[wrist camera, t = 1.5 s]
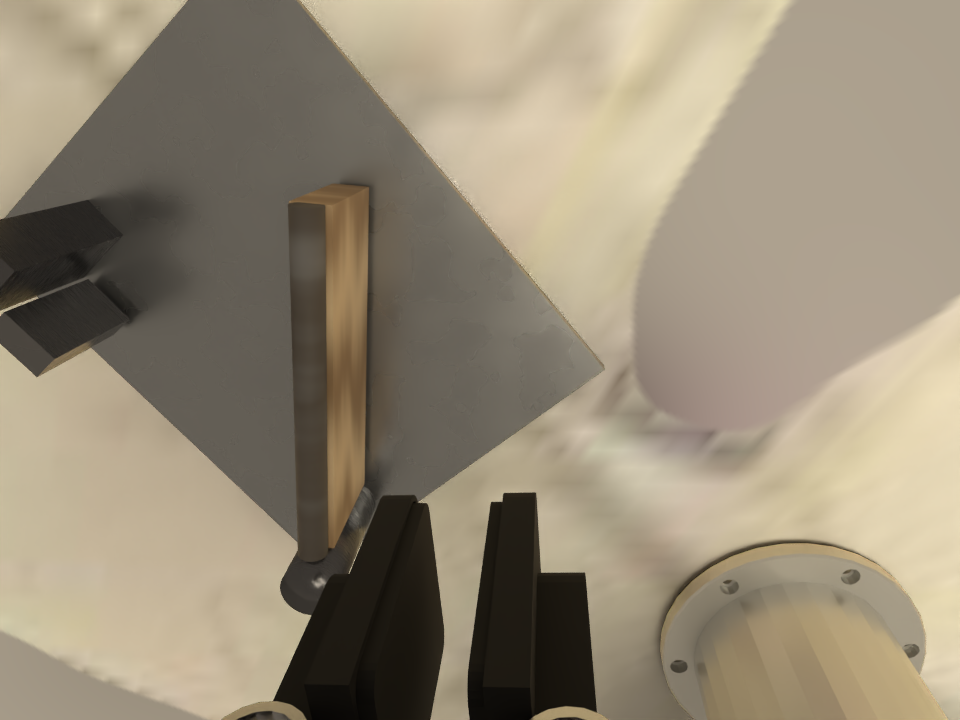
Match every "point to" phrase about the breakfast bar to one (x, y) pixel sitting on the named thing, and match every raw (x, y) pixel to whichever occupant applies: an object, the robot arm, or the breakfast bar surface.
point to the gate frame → (276, 267)
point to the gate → (328, 358)
